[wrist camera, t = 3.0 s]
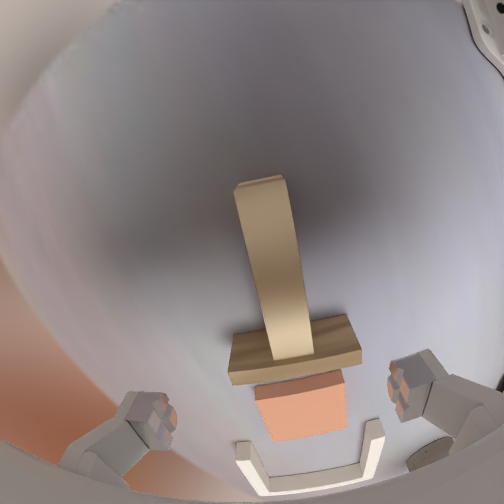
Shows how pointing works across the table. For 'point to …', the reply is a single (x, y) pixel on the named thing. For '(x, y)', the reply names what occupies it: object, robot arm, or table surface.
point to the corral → (314, 480)
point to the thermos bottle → (430, 453)
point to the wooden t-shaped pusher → (282, 297)
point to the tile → (303, 406)
